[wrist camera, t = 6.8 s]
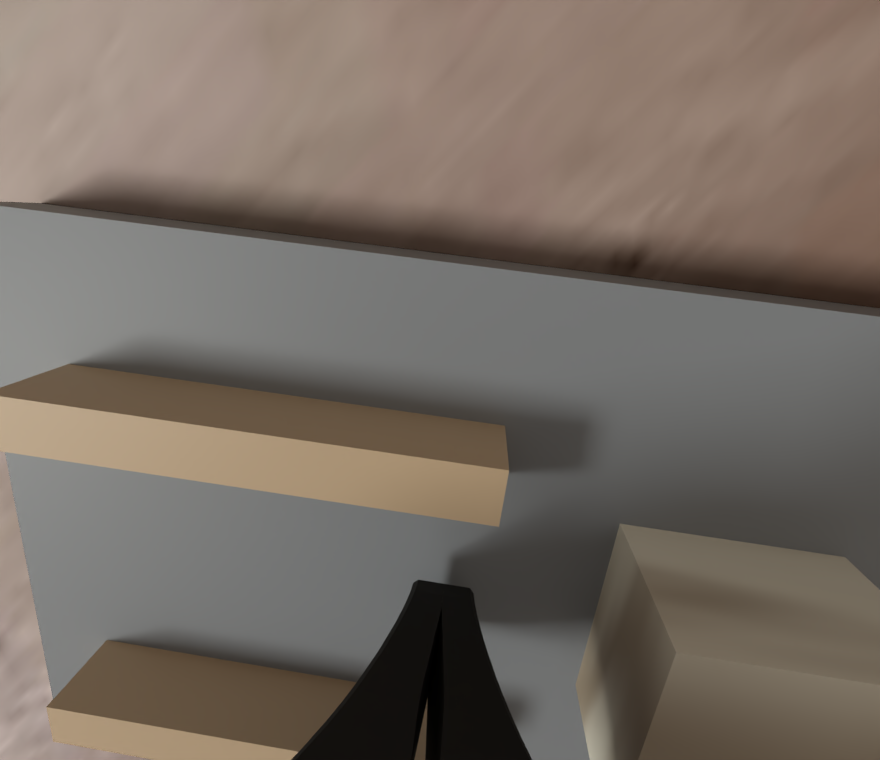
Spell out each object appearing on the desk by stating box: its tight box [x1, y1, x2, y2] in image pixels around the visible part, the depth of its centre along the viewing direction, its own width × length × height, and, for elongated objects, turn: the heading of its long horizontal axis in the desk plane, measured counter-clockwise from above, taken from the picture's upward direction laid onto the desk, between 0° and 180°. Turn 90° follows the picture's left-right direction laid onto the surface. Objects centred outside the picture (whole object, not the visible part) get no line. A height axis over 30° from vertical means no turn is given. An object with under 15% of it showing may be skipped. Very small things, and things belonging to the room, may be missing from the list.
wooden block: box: [576, 524, 880, 760], centre depth 10 cm, size 5×5×4 cm
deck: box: [0, 202, 880, 760], centre depth 12 cm, size 16×33×4 cm, turn 83°
